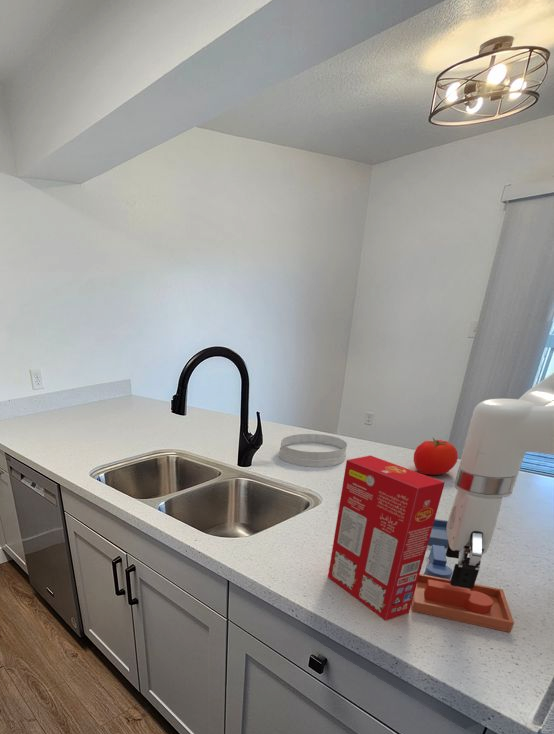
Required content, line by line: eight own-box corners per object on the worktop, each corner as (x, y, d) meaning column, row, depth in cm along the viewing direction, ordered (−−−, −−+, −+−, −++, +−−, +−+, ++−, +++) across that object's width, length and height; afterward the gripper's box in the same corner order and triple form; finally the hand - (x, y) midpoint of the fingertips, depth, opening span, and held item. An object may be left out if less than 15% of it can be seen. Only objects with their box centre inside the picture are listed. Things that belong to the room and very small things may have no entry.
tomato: (422, 463, 142) (430, 432, 137) (460, 473, 133) (470, 440, 128) (401, 472, 136) (408, 440, 132) (438, 482, 127) (447, 448, 123)
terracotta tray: (499, 598, 80) (503, 589, 79) (510, 632, 72) (514, 623, 71) (411, 580, 86) (413, 572, 85) (411, 610, 78) (414, 601, 77)
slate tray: (458, 530, 102) (461, 522, 101) (463, 550, 94) (466, 542, 94) (391, 520, 108) (392, 513, 108) (390, 538, 101) (391, 531, 100)
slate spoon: (446, 559, 92) (450, 547, 90) (451, 584, 84) (455, 571, 83) (422, 555, 94) (426, 543, 92) (424, 579, 86) (428, 567, 84)
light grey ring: (346, 449, 158) (348, 435, 156) (344, 469, 141) (346, 454, 138) (284, 444, 167) (285, 432, 165) (274, 463, 149) (275, 449, 147)
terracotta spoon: (423, 589, 82) (427, 576, 81) (488, 602, 78) (493, 588, 77) (424, 602, 79) (428, 588, 78) (492, 616, 75) (497, 602, 73)
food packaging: (408, 612, 77) (444, 482, 66) (385, 620, 76) (418, 488, 64) (348, 571, 90) (370, 455, 78) (327, 577, 88) (346, 459, 77)
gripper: (451, 461, 77) (430, 544, 85) (461, 498, 63) (436, 594, 71) (504, 464, 74) (477, 551, 81) (526, 505, 60) (492, 604, 68)
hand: (458, 571), depth 76 cm, fingers open, 9 cm apart
